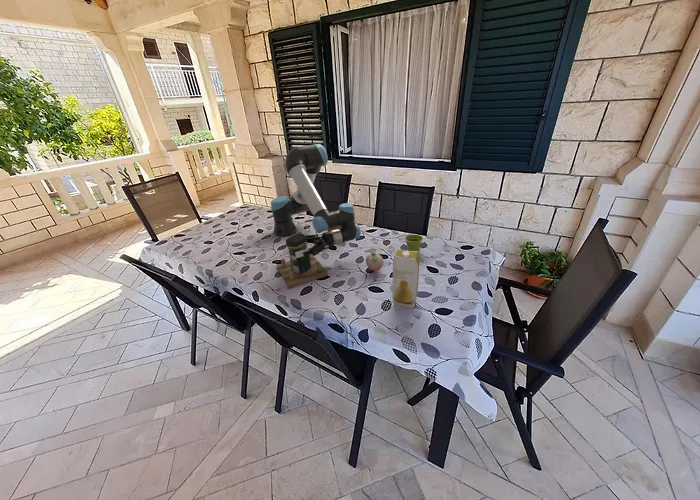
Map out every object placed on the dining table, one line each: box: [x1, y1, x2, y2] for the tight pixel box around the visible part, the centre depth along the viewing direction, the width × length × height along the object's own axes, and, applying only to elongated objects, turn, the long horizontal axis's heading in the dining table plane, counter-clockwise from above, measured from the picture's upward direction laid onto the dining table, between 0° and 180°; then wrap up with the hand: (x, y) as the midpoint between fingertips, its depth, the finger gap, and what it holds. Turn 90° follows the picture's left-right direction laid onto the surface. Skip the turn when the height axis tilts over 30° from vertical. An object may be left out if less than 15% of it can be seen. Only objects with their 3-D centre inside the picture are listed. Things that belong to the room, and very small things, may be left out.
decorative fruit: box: [365, 251, 385, 272], centre depth 130 cm, size 9×8×10 cm
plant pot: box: [404, 233, 424, 254], centre depth 144 cm, size 9×9×9 cm
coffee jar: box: [285, 232, 311, 273], centre depth 131 cm, size 10×8×19 cm
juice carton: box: [392, 249, 420, 309], centre depth 105 cm, size 9×8×24 cm
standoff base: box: [276, 254, 330, 289], centre depth 135 cm, size 22×20×6 cm
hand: (291, 249), depth 129 cm, fingers open, 13 cm apart
